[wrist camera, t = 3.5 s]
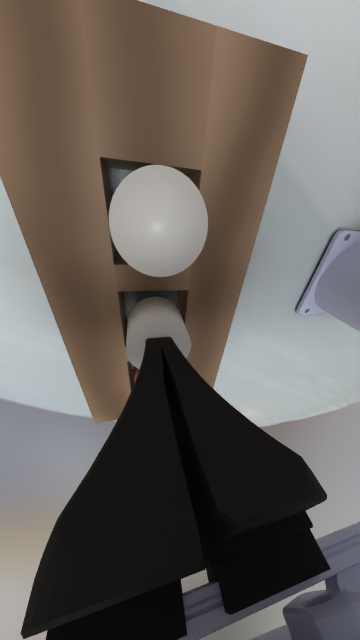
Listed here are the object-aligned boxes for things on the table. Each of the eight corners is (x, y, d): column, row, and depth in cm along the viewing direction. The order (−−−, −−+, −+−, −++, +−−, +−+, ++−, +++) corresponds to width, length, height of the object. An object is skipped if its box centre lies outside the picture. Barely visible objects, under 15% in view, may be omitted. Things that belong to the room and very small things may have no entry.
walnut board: (262, 92, 9) (308, 55, 7) (200, 382, 22) (208, 404, 20) (-13, 24, 7) (-96, -75, 4) (99, 396, 20) (95, 423, 18)
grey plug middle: (182, 295, 12) (194, 321, 9) (178, 338, 14) (187, 368, 11) (125, 297, 11) (122, 325, 8) (130, 341, 13) (128, 375, 10)
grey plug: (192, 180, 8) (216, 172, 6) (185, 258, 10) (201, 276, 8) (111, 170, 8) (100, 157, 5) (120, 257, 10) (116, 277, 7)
